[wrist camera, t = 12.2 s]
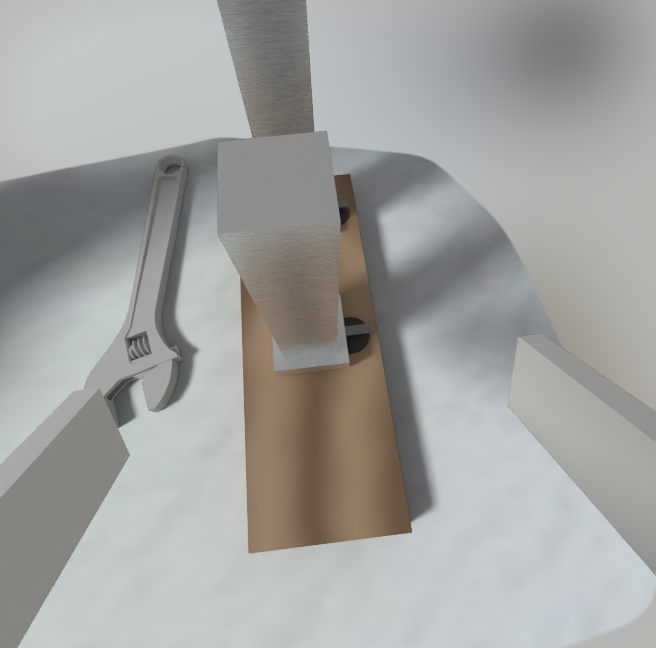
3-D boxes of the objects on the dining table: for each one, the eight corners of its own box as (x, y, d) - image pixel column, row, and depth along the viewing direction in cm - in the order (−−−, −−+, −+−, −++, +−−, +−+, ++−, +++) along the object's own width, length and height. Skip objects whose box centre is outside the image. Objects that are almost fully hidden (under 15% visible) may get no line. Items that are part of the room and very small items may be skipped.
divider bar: (255, 544, 23) (248, 554, 21) (243, 201, 32) (237, 184, 30) (405, 525, 23) (412, 532, 21) (349, 190, 33) (349, 172, 31)
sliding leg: (277, 375, 24) (190, 260, 9) (273, 310, 26) (193, 126, 11) (373, 364, 24) (432, 234, 10) (362, 300, 26) (399, 106, 11)
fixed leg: (270, 245, 28) (197, 12, 13) (266, 196, 30) (199, -59, 15) (351, 236, 28) (370, -4, 13) (343, 188, 30) (353, -73, 15)
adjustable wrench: (165, 166, 35) (156, 152, 33) (228, 169, 34) (223, 154, 33) (87, 423, 26) (71, 421, 24) (171, 429, 26) (160, 427, 24)
